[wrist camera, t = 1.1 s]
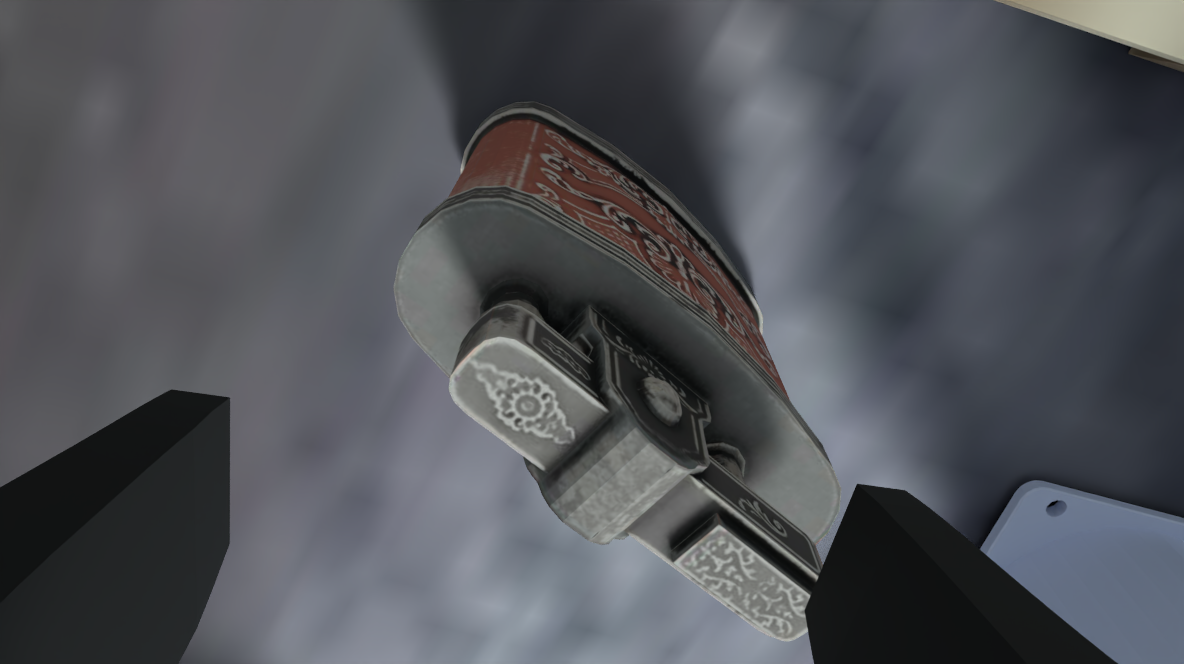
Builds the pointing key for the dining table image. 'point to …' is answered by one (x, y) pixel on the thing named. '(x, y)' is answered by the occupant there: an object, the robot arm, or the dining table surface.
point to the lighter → (620, 362)
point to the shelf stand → (1122, 23)
